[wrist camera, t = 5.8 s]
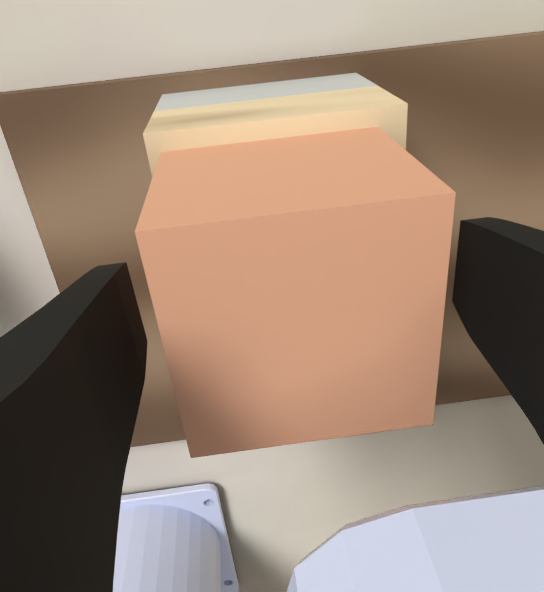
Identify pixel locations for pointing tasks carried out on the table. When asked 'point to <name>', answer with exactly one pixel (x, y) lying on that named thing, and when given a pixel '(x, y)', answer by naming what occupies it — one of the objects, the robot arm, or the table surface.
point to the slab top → (275, 119)
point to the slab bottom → (262, 91)
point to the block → (298, 287)
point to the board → (370, 64)
